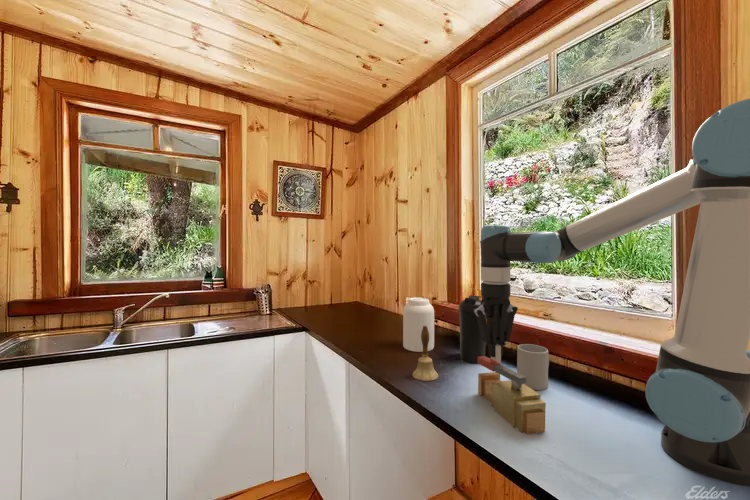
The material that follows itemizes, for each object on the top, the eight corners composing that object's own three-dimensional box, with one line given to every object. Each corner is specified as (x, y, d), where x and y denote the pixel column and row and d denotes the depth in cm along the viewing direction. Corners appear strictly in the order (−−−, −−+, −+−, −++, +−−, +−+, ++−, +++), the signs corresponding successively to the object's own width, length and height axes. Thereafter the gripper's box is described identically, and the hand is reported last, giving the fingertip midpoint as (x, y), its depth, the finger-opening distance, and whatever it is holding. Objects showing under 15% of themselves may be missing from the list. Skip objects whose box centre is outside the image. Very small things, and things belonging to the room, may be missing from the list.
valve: (549, 431, 75) (549, 400, 74) (522, 435, 73) (522, 404, 73) (498, 391, 94) (498, 367, 94) (476, 394, 93) (476, 369, 93)
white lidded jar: (426, 354, 125) (426, 302, 124) (397, 349, 131) (397, 299, 131) (438, 346, 135) (439, 297, 135) (411, 341, 142) (411, 295, 141)
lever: (526, 391, 79) (526, 376, 79) (519, 393, 78) (519, 377, 78) (484, 368, 93) (484, 355, 93) (477, 369, 92) (477, 356, 92)
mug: (536, 393, 93) (537, 354, 93) (510, 382, 101) (511, 346, 100) (560, 383, 100) (561, 347, 99) (534, 373, 107) (534, 340, 107)
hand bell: (407, 375, 106) (407, 326, 105) (423, 368, 111) (424, 321, 111) (426, 383, 100) (427, 331, 99) (443, 376, 105) (444, 326, 105)
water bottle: (490, 358, 121) (490, 296, 121) (483, 366, 113) (483, 300, 112) (463, 353, 127) (463, 293, 126) (454, 361, 118) (454, 297, 118)
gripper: (506, 279, 94) (506, 360, 95) (467, 281, 91) (467, 365, 92) (525, 282, 87) (525, 369, 88) (483, 285, 84) (483, 376, 85)
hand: (495, 367), depth 90 cm, fingers closed
